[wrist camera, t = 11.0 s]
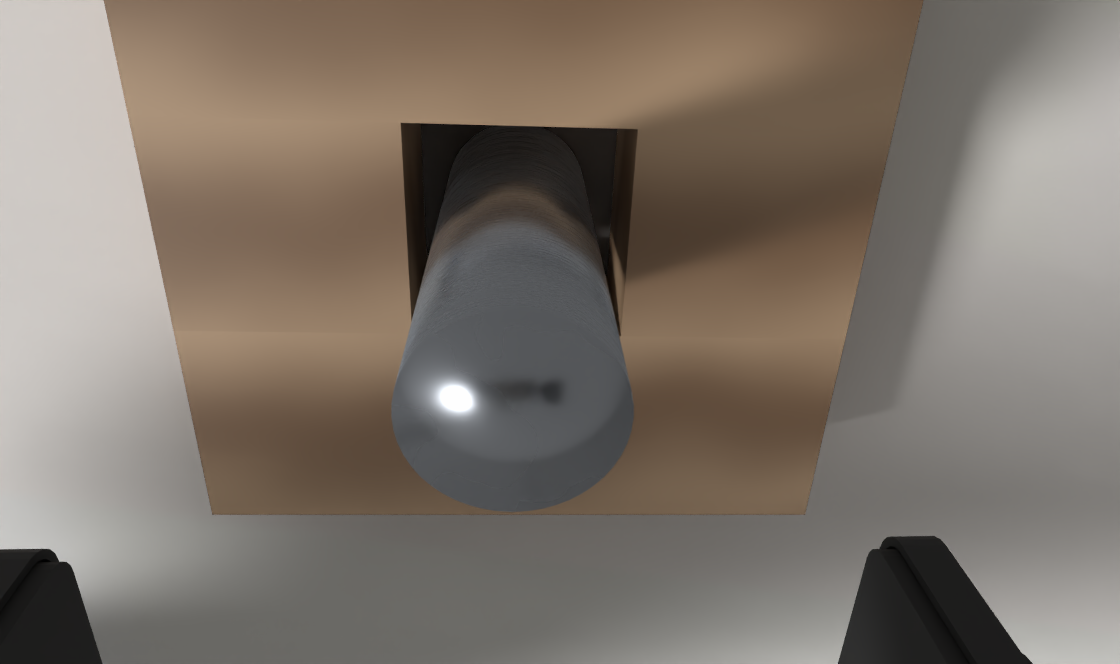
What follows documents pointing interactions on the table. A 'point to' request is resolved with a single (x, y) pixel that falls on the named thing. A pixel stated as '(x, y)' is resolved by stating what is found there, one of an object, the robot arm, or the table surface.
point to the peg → (513, 334)
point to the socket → (400, 238)
